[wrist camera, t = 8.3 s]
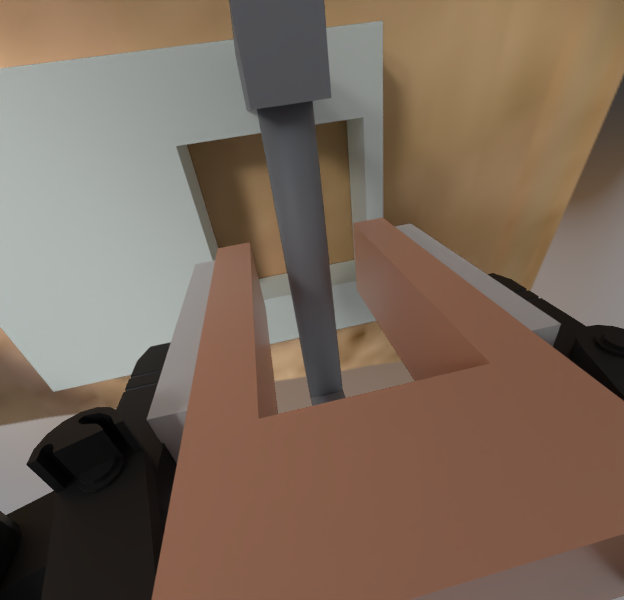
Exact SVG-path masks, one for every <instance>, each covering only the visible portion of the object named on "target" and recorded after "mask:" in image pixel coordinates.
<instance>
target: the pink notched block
mask: <svg viewBox="0 0 624 600" xmlns="http://www.w3.org/2000/svg"><path fill="white" fill-rule="evenodd" d="M353 232H354V250H355V268H356V286H357V291H358V293H359V294H360V296H361V297H362V299H363V300H364V302H365V304H366V305H367V307H368V308H369V310H370V311H371V313H372V315H373V316H374V318H375V319H376V321H377V322H378V324H379V326H380V327H381V329H382V330H383V332H384V333H385V335H386V337H387V338H388V340H389V341H390V343H391V344H392V346H393V348H394V349H395V351H396V352H397V354H398V355H399V357H400V359H401V360H402V362H403V363H404V365H405V366H406V368H407V369H408V371H409V373H410V374H411V376H412V377H413V379H414V380H415V381H414V382H410V383H406V384H402V385H398V386H394V387H389V388H385V389H381V390H377V391H373V392H369V393H364V394H360V395H356V396H352V397H348V398H343V399H339V400H335V401H331V402H326V403H322V404H318V405H314V406H310V407H306V408H302V409H297V410H293V411H289V412H285V413H280V414H278V410H277V401H276V392H275V383H274V375H273V366H272V357H271V349H270V340H269V331H268V323H267V314H266V307H265V303H264V299H263V295H262V291H261V286H260V282H259V278H258V274H257V270H256V266H255V262H254V258H253V254H252V250H251V245H250V242H249V243H243V244H238V245H232V246H227V247H222V248H217V253H216V259H215V264H214V269H213V275H212V280H211V285H210V291H209V296H208V301H207V307H206V312H205V317H204V323H203V328H202V333H201V339H200V344H199V349H198V355H197V360H196V365H195V371H194V376H193V381H192V387H191V392H190V397H189V403H188V408H187V413H186V419H185V424H184V429H183V435H182V440H181V445H180V451H179V456H178V461H177V467H176V472H175V477H174V483H173V488H172V493H171V499H170V504H169V509H168V515H167V520H166V525H165V531H164V536H163V541H162V547H161V552H160V557H159V563H158V568H157V573H156V579H155V584H154V589H153V595H152V600H612V599H615V598H618V597H621V596H624V401H623V400H622V399H621V398H619V397H618V396H617V395H615V394H614V393H613V392H611V391H610V390H609V389H607V388H606V387H605V386H603V385H602V384H601V383H600V382H598V381H597V380H596V379H594V378H593V377H592V376H590V375H589V374H588V373H586V372H585V371H584V370H582V369H581V368H580V367H578V366H577V365H576V364H575V363H573V362H572V361H571V360H569V359H568V358H567V357H565V356H564V355H563V354H561V353H560V352H559V351H557V350H556V349H555V348H554V347H552V346H551V345H550V344H548V343H547V342H546V341H544V340H543V339H542V338H540V337H539V336H538V335H536V334H535V333H534V332H532V331H531V330H530V329H529V328H527V327H526V326H525V325H523V324H522V323H521V322H519V321H518V320H517V319H515V318H514V317H513V316H511V315H510V314H509V313H508V312H506V311H505V310H504V309H502V308H501V307H500V306H498V305H497V304H496V303H494V302H493V301H492V300H490V299H489V298H488V297H487V296H485V295H484V294H483V293H481V292H480V291H479V290H477V289H476V288H475V287H473V286H472V285H471V284H469V283H468V282H467V281H465V280H464V279H463V278H462V277H460V276H459V275H458V274H456V273H455V272H454V271H452V270H451V269H450V268H448V267H447V266H446V265H444V264H443V263H442V262H441V261H439V260H438V259H437V258H435V257H434V256H433V255H431V254H430V253H429V252H427V251H426V250H425V249H423V248H422V247H421V246H420V245H418V244H417V243H416V242H414V241H413V240H412V239H410V238H409V237H408V236H406V235H405V234H404V233H402V232H401V231H400V230H398V229H397V228H396V227H395V226H393V225H392V224H391V223H389V222H388V221H387V220H385V219H384V218H377V219H372V220H367V221H361V222H356V223H353Z"/></svg>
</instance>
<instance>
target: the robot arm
mask: <svg viewBox="0 0 624 600" xmlns="http://www.w3.org/2000/svg"><path fill="white" fill-rule="evenodd" d="M395 227H396V228H397V229H398V230H400V231H401V232H402V233H404V234H405V235H406V236H408V237H409V238H410V239H412V240H413V241H414V242H416V243H417V244H418V245H420V246H421V247H422V248H423V249H425V250H426V251H427V252H429V253H430V254H431V255H433V256H434V257H435V258H437V259H438V260H439V261H441V262H442V263H443V264H444V265H446V266H447V267H448V268H450V269H451V270H452V271H454V272H455V273H456V274H458V275H459V276H460V277H462V278H463V279H464V280H465V281H467V282H468V283H469V284H471V285H472V286H473V287H475V288H476V289H477V290H479V291H480V292H481V293H483V294H484V295H485V296H487V297H488V298H489V299H490V300H492V301H493V302H494V303H496V304H497V305H498V306H500V307H501V308H502V309H504V310H505V311H506V312H508V313H509V314H510V315H511V316H513V317H514V318H515V319H517V320H518V321H519V322H521V323H522V324H523V325H525V326H526V327H527V328H529V329H530V330H531V331H532V332H534V333H535V334H536V335H538V336H539V337H540V338H542V339H543V340H544V341H546V342H547V343H548V344H550V345H551V346H552V347H554V348H555V349H556V350H557V351H559V352H560V353H561V354H563V355H564V356H565V357H567V358H568V359H569V360H571V361H572V362H573V363H575V364H576V365H577V366H578V367H580V368H581V369H582V370H584V371H585V372H586V373H588V374H589V375H590V376H592V377H593V378H594V379H596V380H597V381H598V382H600V383H601V384H602V385H603V386H605V387H606V388H607V389H609V390H610V391H611V392H613V393H614V394H615V395H617V396H618V397H619V398H621V399H622V400H623V401H624V329H622V328H618V327H614V326H604V325H594V326H585V325H583V324H582V323H580V322H578V321H577V320H575V319H574V318H572V317H571V316H569V315H567V314H566V313H564V312H563V311H561V310H559V309H558V308H556V307H554V306H553V305H551V304H550V303H548V302H546V301H545V300H543V299H542V298H540V299H539V298H538V296H537V295H535V294H534V293H532V292H531V291H527V290H526V288H524V287H523V286H521V285H520V284H518V283H516V282H515V281H513V280H511V279H509V278H506V277H503V276H500V275H497V274H494V273H492V274H486V273H484V272H483V271H481V270H480V269H478V268H477V267H475V266H474V265H472V264H471V263H469V262H468V261H466V260H465V259H463V258H462V257H460V256H459V255H457V254H456V253H454V252H453V251H451V250H450V249H448V248H447V247H445V246H444V245H443V244H441V243H440V242H438V241H437V240H435V239H434V238H432V237H431V236H429V235H428V234H426V233H425V232H423V231H422V230H420V229H419V228H417V227H416V226H414V225H413V224H411V223H410V224H405V225H400V226H395ZM214 264H215V261H210V262H204V263H199V264H195V267H194V270H193V273H192V276H191V279H190V283H189V286H188V289H187V292H186V295H185V299H184V302H183V305H182V308H181V311H180V315H179V318H178V321H177V324H176V327H175V330H174V334H173V337H172V340H171V342H170V343H165V344H160V345H155V346H151V347H149V348H148V350H147V351H146V352H145V353H144V354H143V355H142V356H141V357H140V358H139V359H138V360H137V362H136V365H135V367H134V369H133V372H132V374H131V379H129V381H128V383H127V386H126V388H125V390H126V392H124V393H123V395H122V398H121V400H120V402H119V405H118V407H117V409H116V410H115V409H113V408H111V407H96V408H93V409H90V410H87V411H83V412H80V413H78V414H77V415H75V416H73V417H71V418H69V419H67V420H65V421H64V422H62V423H61V424H60V425H58V426H57V427H56V428H54V429H53V430H52V431H51V432H49V433H48V434H47V435H46V436H45V437H44V438H43V439H42V441H41V442H40V443H39V444H38V445H37V447H36V448H35V449H34V450H33V452H32V454H31V456H30V458H29V461H28V462H27V466H28V467H29V468H31V469H32V470H33V471H34V472H35V473H36V474H37V475H38V476H39V477H40V478H41V479H42V480H43V481H44V482H46V483H47V484H48V485H49V486H50V487H51V488H52V489H53V490H54V491H53V492H51V493H49V494H47V495H45V496H43V497H41V498H39V499H37V500H35V501H33V502H32V503H29V504H27V505H25V506H23V507H21V508H19V509H17V510H15V511H13V512H12V513H9V514H7V515H5V514H3V513H2V512H1V511H0V600H152V595H153V589H154V584H155V579H156V573H157V568H158V563H159V557H160V552H161V547H162V541H163V536H164V531H165V525H166V520H167V515H168V509H169V504H170V499H171V493H172V488H173V483H174V477H175V472H176V467H177V461H178V456H179V451H180V445H181V440H182V435H183V429H184V424H185V419H186V413H187V408H188V403H189V397H190V392H191V387H192V381H193V376H194V371H195V365H196V360H197V355H198V349H199V344H200V339H201V333H202V328H203V323H204V317H205V312H206V307H207V301H208V296H209V291H210V285H211V280H212V275H213V269H214Z"/></svg>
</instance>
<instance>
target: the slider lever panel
mask: <svg viewBox="0 0 624 600" xmlns="http://www.w3.org/2000/svg"><path fill="white" fill-rule="evenodd" d="M229 3H230V12H231V21H232V30H233V38H234V39H232V40H224V41H216V42H208V43H200V44H192V45H184V46H176V47H168V48H160V49H152V50H144V51H136V52H128V53H120V54H112V55H104V56H96V57H88V58H80V59H72V60H64V61H56V62H48V63H40V64H32V65H24V66H16V67H8V68H0V327H1V328H2V330H3V331H4V332H5V333H6V334H7V336H8V337H9V338H10V339H11V341H12V342H13V343H14V344H15V345H16V347H17V348H18V349H19V350H20V351H21V353H22V354H23V355H24V356H25V358H26V359H27V360H28V361H29V362H30V364H31V365H32V366H33V367H34V369H35V370H36V371H37V372H38V373H39V375H40V376H41V377H42V378H43V379H44V381H45V382H46V383H47V384H48V386H49V387H50V388H51V389H52V390H53V392H55V391H59V390H64V389H68V388H73V387H78V386H82V385H87V384H91V383H96V382H100V381H105V380H109V379H114V378H119V377H123V376H128V375H131V374H132V372H133V369H134V367H135V365H136V362H137V360H138V359H139V358H140V357H141V356H142V355H143V354H144V353H145V352H146V351H147V350H148V348H149V347H151V346H155V345H160V344H165V343H170V342H171V340H172V337H173V334H174V330H175V327H176V324H177V321H178V318H179V315H180V311H181V308H182V305H183V302H184V299H185V295H186V292H187V289H188V286H189V283H190V279H191V276H192V273H193V270H194V267H195V264H199V263H204V262H210V261H215V259H216V253H217V248H218V246H217V242H216V239H215V236H214V232H213V229H212V226H211V223H210V219H209V216H208V213H207V209H206V206H205V203H204V199H203V196H202V193H201V190H200V186H199V183H198V180H197V176H196V173H195V170H194V167H193V163H192V160H191V157H190V153H189V150H188V147H187V144H193V143H200V142H206V141H213V140H219V139H226V138H232V137H238V136H245V135H251V134H258V133H261V135H262V141H263V146H264V151H265V157H266V162H267V167H268V173H269V178H270V183H271V189H272V194H273V199H274V205H275V210H276V216H277V221H278V226H279V232H280V237H281V242H282V248H283V253H284V258H285V264H286V269H287V273H285V274H280V275H275V276H270V277H265V278H260V279H259V282H260V286H261V291H262V295H263V299H264V303H265V307H266V314H267V323H268V331H269V340H270V344H273V343H278V342H282V341H287V340H291V339H296V338H299V339H300V344H301V349H302V355H303V360H304V366H305V371H306V376H307V382H308V387H309V392H310V397H311V402H312V406H314V405H318V404H322V403H326V402H331V401H335V400H339V399H343V398H346V397H345V395H344V392H343V389H342V379H341V370H340V360H339V351H338V341H337V331H336V330H337V329H342V328H346V327H351V326H355V325H360V324H364V323H369V322H373V321H376V319H375V318H374V316H373V315H372V313H371V311H370V310H369V308H368V307H367V305H366V304H365V302H364V300H363V299H362V297H361V296H360V294H359V293H358V291H357V286H356V268H355V250H354V260H351V261H346V262H341V263H335V264H329V254H328V245H327V235H326V225H325V216H324V206H323V196H322V187H321V177H320V167H319V158H318V148H317V139H316V129H315V125H316V124H323V123H329V122H335V121H342V120H347V138H348V155H349V173H350V191H351V209H352V226H353V223H356V222H361V221H367V220H372V219H377V218H383V21H376V22H368V23H360V24H352V25H344V26H336V27H328V28H326V20H325V6H324V0H229ZM353 244H354V232H353Z"/></svg>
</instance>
